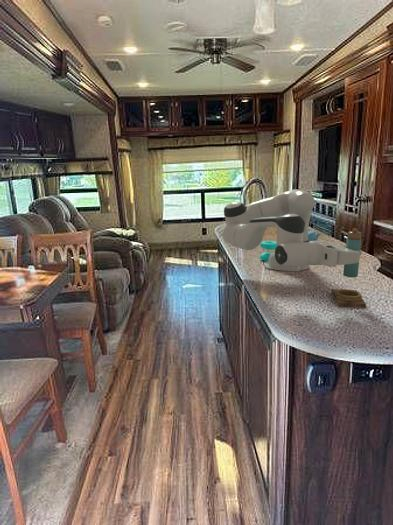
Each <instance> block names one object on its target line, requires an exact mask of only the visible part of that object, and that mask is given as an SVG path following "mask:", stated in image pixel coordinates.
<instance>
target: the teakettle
mask: <svg viewBox="0 0 393 525" xmlns="http://www.w3.org/2000/svg"><path fill="white" fill-rule="evenodd" d="M321 235H324V233H322V232H318V233H317V231H316V230H315V231H314V230H311V228H309V227H308V239H307V240H308V242H309V241H318V239H319V237H320V236H321Z"/></svg>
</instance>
